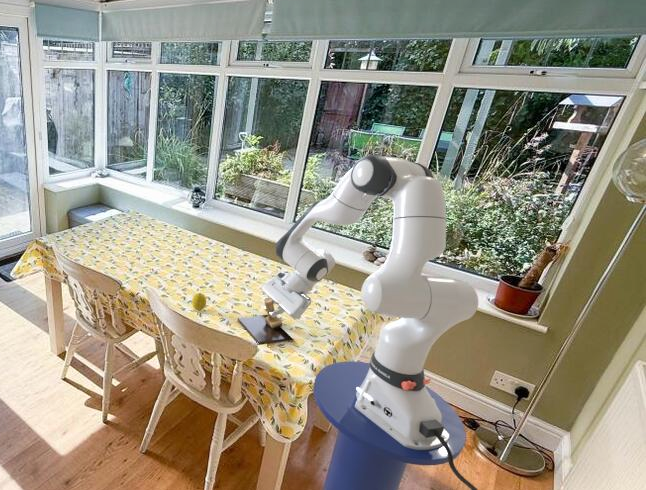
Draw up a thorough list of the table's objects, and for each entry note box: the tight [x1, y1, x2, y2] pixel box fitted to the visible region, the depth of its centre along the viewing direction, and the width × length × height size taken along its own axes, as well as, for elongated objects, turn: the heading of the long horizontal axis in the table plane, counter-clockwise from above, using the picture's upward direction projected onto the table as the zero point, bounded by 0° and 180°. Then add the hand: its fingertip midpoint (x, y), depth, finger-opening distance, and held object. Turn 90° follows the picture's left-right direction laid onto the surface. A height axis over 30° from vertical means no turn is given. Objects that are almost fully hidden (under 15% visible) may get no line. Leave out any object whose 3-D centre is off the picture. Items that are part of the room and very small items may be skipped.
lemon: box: [191, 292, 207, 311], centre depth 162 cm, size 6×6×8 cm
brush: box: [263, 297, 283, 330], centre depth 150 cm, size 5×4×12 cm
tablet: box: [237, 314, 295, 346], centre depth 153 cm, size 16×20×1 cm
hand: (267, 312), depth 149 cm, fingers closed on brush, 3 cm apart
